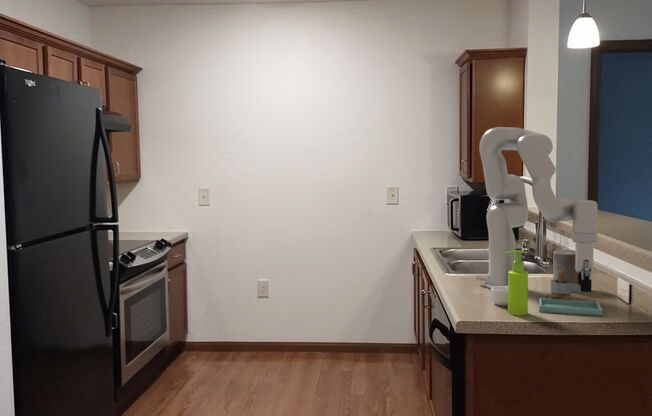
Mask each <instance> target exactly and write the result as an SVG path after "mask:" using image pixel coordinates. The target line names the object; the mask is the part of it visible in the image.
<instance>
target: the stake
mask: <svg viewBox="0 0 652 416" xmlns="http://www.w3.org/2000/svg"><path fill="white" fill-rule="evenodd" d="M564 279H565V270H564V269H558V282H559V283H564ZM550 293H551V295H549V294H548V295H547V299H561V300H574V297H573V296H571V295H572V293H569V294H557V293H553V292H551V291H550Z"/></svg>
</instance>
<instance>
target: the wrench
mask: <svg viewBox="0 0 652 416" xmlns="http://www.w3.org/2000/svg"><path fill="white" fill-rule="evenodd" d="M551 292H553V293H557V294H569V293H571V294H572V292H573V293H575V292H576V293H582V292H581V283H572V282H571V281H568V280H564V283H559V282H558V279H555V280H553V279H550V293H551ZM587 293H589V294H591V293H592V291H591V292H586V294H587Z"/></svg>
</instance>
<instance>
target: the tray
mask: <svg viewBox="0 0 652 416" xmlns="http://www.w3.org/2000/svg"><path fill="white" fill-rule="evenodd" d="M538 308H539V313H551V314H564V315H565V314H566V315H576V316H577V315H581V316H591V315H593V316H595V317H603V308H602V306H601V305H600V302H599V301H593V300H592V301H590V300H561V299H548V298H543V297H541V298H540V297H538ZM593 316H592V317H593Z"/></svg>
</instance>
